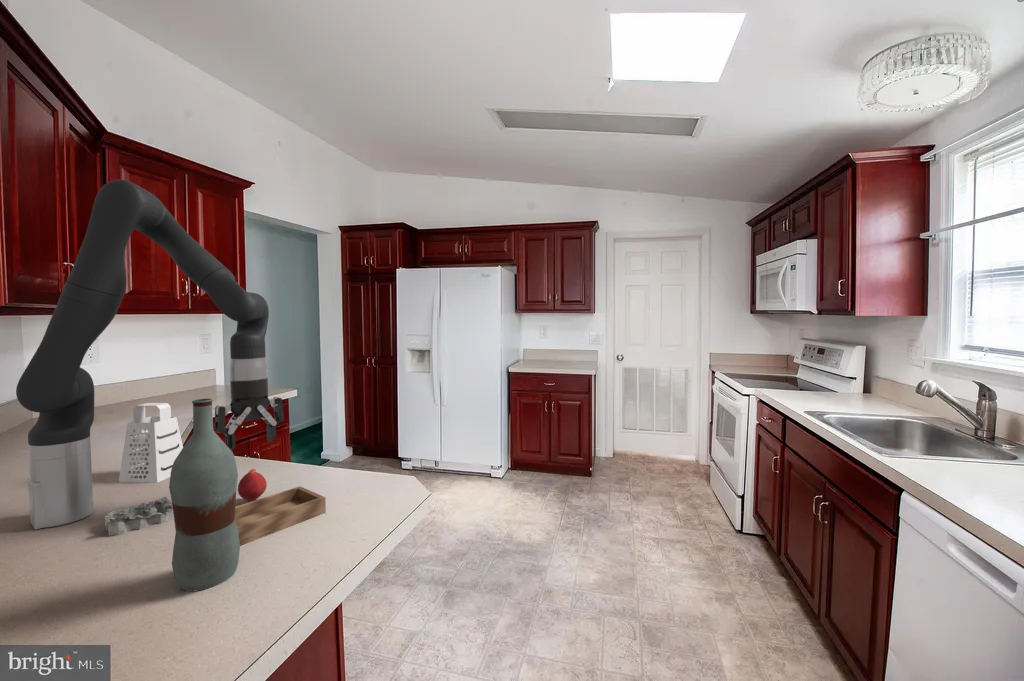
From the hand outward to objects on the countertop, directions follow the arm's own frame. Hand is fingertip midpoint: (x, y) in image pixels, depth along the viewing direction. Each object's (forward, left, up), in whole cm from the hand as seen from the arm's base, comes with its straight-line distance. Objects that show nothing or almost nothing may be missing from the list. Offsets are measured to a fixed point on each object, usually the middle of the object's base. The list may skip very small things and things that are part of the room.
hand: (251, 445), depth 101 cm
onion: (0, 0, -14) cm, 14 cm away
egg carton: (-19, +8, -14) cm, 25 cm away
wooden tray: (-3, -14, -14) cm, 20 cm away
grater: (-8, +41, -14) cm, 44 cm away
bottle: (-18, -26, -14) cm, 35 cm away
